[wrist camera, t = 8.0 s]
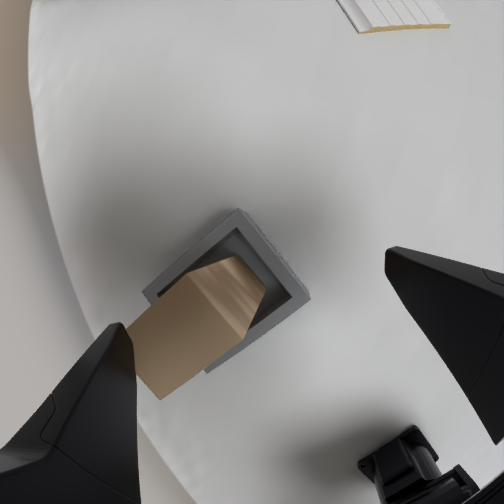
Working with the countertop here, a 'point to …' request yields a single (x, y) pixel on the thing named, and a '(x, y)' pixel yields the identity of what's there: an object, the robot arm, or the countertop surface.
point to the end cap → (257, 258)
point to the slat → (194, 323)
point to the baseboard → (393, 15)
